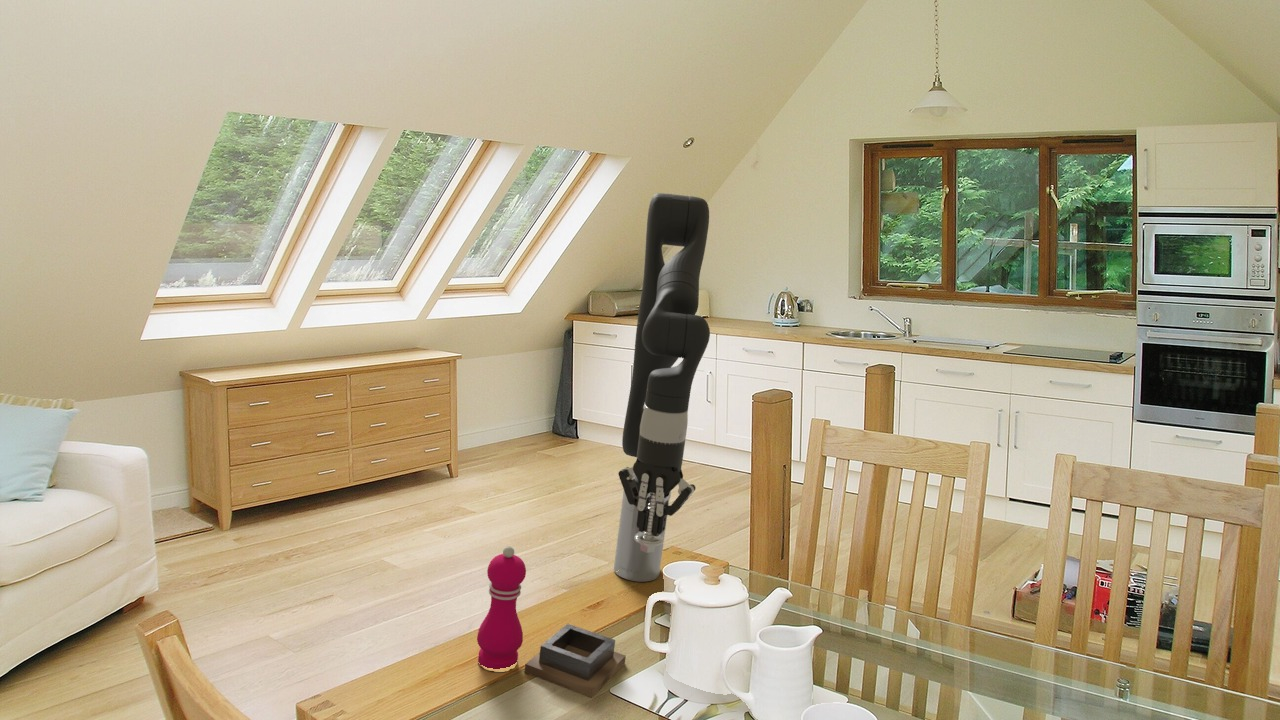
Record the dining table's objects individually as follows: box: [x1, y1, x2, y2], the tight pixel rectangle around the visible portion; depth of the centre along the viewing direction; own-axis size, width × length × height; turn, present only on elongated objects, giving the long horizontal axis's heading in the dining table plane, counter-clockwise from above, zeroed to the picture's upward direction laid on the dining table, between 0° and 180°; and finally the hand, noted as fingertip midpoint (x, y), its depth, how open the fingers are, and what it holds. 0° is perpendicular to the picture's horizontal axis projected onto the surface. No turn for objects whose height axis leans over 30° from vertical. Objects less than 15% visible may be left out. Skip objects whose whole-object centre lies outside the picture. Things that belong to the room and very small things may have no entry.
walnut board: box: [524, 645, 627, 699], centre depth 155 cm, size 12×12×2 cm
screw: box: [634, 493, 664, 553], centre depth 159 cm, size 13×5×5 cm
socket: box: [539, 623, 616, 681], centre depth 155 cm, size 9×9×3 cm
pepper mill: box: [476, 546, 527, 669], centre depth 152 cm, size 7×7×20 cm
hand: (649, 532), depth 160 cm, fingers closed on screw, 2 cm apart
